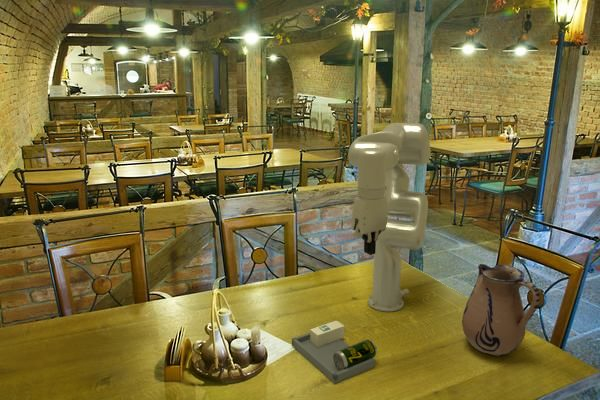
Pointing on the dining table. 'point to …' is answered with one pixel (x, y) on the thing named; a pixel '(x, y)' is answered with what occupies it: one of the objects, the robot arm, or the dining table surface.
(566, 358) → the dining table surface
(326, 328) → the block
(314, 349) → the slate tray
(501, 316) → the ceramic pitcher
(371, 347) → the beer can
